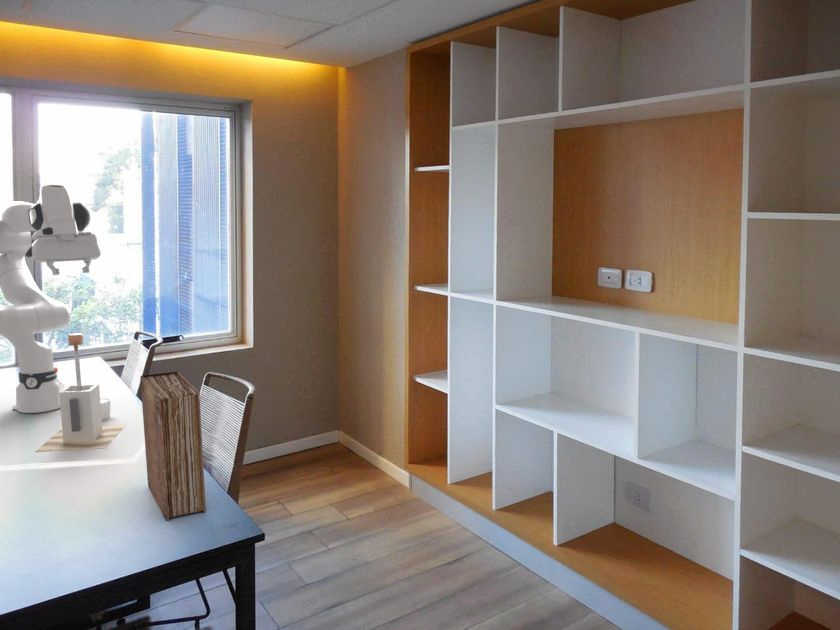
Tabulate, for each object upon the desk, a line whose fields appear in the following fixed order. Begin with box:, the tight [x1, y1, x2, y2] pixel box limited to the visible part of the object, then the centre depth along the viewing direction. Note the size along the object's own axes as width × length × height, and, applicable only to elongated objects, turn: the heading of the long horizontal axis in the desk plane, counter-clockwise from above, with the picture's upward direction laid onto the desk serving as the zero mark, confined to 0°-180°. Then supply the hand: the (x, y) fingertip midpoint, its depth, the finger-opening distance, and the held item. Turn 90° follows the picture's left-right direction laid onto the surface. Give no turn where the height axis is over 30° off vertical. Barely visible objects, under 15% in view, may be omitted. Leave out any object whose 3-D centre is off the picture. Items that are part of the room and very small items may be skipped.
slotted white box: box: [59, 383, 103, 443], centre depth 220 cm, size 11×9×16 cm
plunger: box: [67, 333, 84, 391], centre depth 219 cm, size 6×6×24 cm
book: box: [140, 371, 207, 522], centre depth 175 cm, size 25×9×30 cm, turn 30°
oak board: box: [35, 423, 127, 453], centre depth 222 cm, size 24×20×1 cm
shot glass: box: [100, 398, 111, 420], centre depth 243 cm, size 7×7×7 cm
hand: (71, 273), depth 227 cm, fingers open, 8 cm apart
